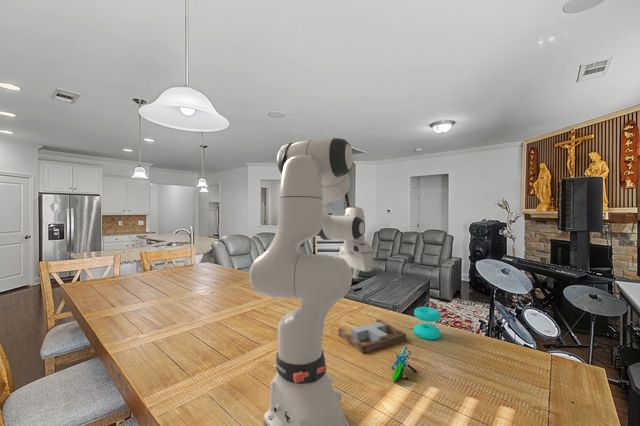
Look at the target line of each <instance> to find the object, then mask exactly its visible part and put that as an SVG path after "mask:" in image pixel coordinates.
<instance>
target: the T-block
mask: <svg viewBox="0 0 640 426" xmlns="http://www.w3.org/2000/svg"><path fill="white" fill-rule="evenodd" d="M350 335H351V336H353V337H354V338H355V339H357V340H358V341H360V342H362V341H365V340H369V342H374V341H377V340H381V339H384V338H388V337H389V334H388V333H387V331H386V325H384V324H383V323H381V322H377V321H376V322H373V323H369V324H364V325H360V326H356V327H352V328H351V329H350Z"/></svg>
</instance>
